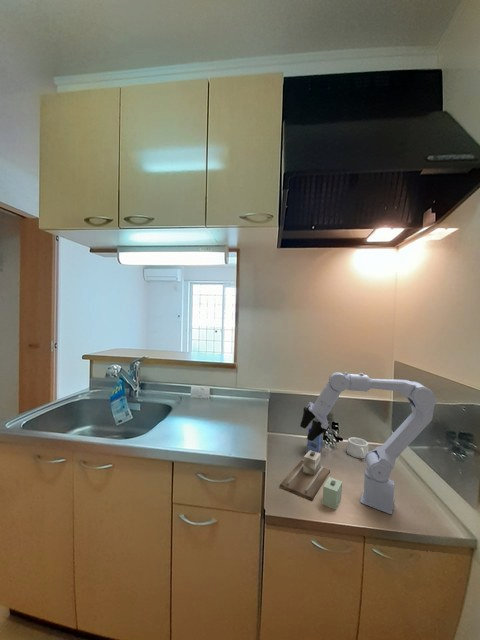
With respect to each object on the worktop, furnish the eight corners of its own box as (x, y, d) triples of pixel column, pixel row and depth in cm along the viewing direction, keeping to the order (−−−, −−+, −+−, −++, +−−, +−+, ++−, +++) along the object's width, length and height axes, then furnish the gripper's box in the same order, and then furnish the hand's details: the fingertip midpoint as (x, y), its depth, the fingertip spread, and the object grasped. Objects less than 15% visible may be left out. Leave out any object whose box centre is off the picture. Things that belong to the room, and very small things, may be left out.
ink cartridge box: (318, 458, 123) (320, 426, 123) (306, 454, 125) (308, 423, 125) (322, 449, 132) (324, 419, 131) (311, 446, 134) (313, 416, 134)
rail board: (329, 472, 112) (331, 453, 112) (312, 500, 93) (313, 477, 93) (301, 462, 118) (302, 444, 118) (279, 486, 100) (281, 465, 100)
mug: (343, 448, 135) (344, 435, 135) (363, 450, 134) (364, 437, 134) (351, 460, 123) (352, 447, 123) (374, 462, 122) (375, 449, 122)
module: (341, 498, 95) (342, 479, 95) (336, 510, 90) (337, 489, 90) (328, 493, 98) (329, 475, 98) (322, 504, 92) (323, 484, 92)
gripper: (308, 389, 106) (291, 418, 108) (324, 408, 92) (303, 441, 94) (323, 396, 107) (306, 425, 109) (341, 416, 93) (320, 449, 95)
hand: (305, 433), depth 101 cm, fingers open, 7 cm apart
